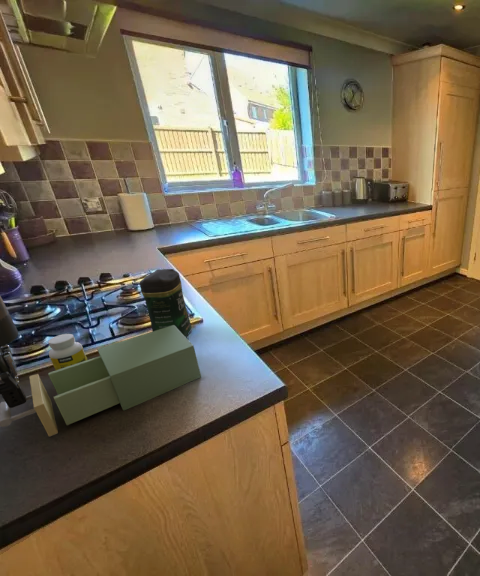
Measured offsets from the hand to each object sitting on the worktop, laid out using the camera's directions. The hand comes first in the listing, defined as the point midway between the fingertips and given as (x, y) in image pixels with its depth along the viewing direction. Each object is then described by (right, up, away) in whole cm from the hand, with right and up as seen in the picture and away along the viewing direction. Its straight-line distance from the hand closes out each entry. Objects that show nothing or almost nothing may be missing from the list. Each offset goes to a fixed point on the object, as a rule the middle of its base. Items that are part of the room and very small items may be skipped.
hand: (18, 403), depth 58 cm
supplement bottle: (-5, +1, +16) cm, 17 cm away
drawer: (+4, -3, +6) cm, 8 cm away
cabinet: (+13, 0, +16) cm, 21 cm away
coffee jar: (+7, +7, +32) cm, 34 cm away
